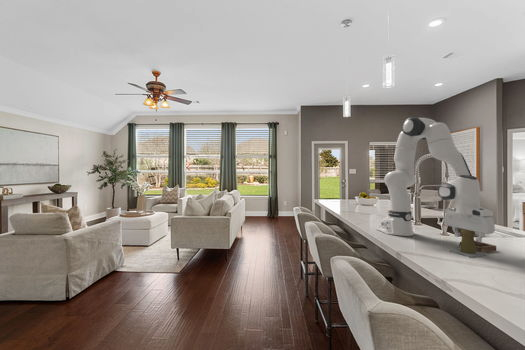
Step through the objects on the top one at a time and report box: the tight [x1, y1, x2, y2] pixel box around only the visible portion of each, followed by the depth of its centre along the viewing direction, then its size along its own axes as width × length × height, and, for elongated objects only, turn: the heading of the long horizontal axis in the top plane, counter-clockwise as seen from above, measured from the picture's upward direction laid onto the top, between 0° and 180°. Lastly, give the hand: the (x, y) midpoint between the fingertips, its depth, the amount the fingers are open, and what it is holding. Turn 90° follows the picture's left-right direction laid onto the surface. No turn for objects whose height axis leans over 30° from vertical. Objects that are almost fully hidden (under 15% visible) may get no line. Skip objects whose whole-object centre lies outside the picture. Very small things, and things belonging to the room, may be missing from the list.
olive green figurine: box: [459, 228, 476, 254], centre depth 120 cm, size 6×6×11 cm
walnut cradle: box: [459, 240, 497, 254], centre depth 126 cm, size 10×10×2 cm
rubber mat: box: [448, 247, 488, 258], centre depth 120 cm, size 10×10×1 cm
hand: (467, 239), depth 120 cm, fingers open, 8 cm apart
